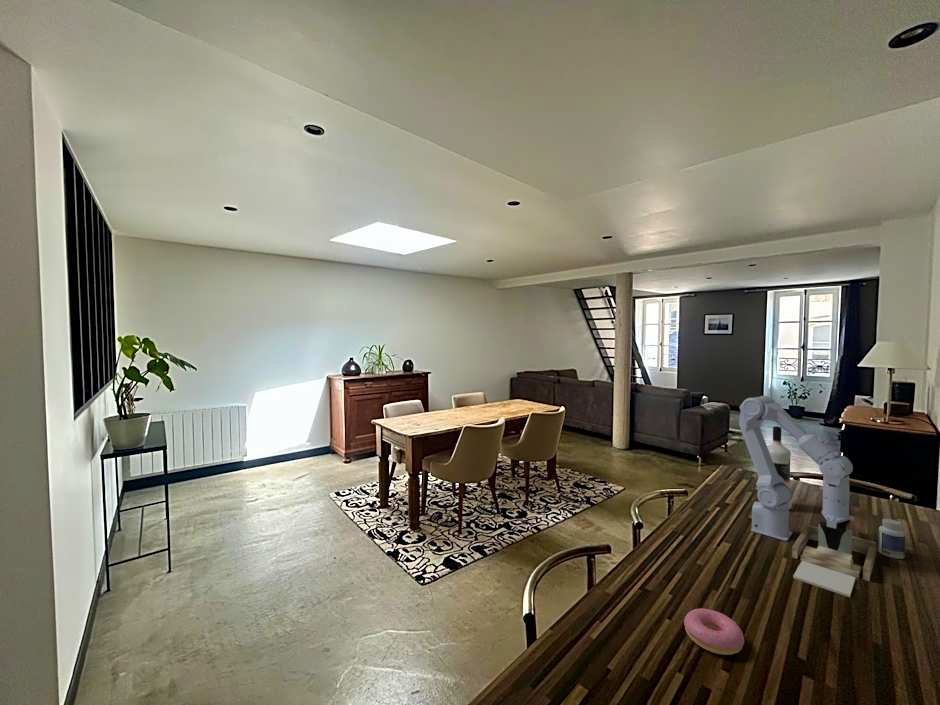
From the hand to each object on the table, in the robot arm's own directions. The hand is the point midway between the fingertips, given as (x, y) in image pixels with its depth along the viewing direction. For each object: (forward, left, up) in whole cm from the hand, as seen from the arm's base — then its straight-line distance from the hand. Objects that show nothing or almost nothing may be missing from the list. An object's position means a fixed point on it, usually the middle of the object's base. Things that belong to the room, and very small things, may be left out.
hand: (834, 544), depth 119 cm
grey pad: (0, -18, -3) cm, 18 cm away
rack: (0, -2, -3) cm, 3 cm away
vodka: (-20, +30, -3) cm, 36 cm away
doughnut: (-12, -63, -3) cm, 64 cm away
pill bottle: (+11, +12, -3) cm, 17 cm away
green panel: (0, 0, -3) cm, 3 cm away
